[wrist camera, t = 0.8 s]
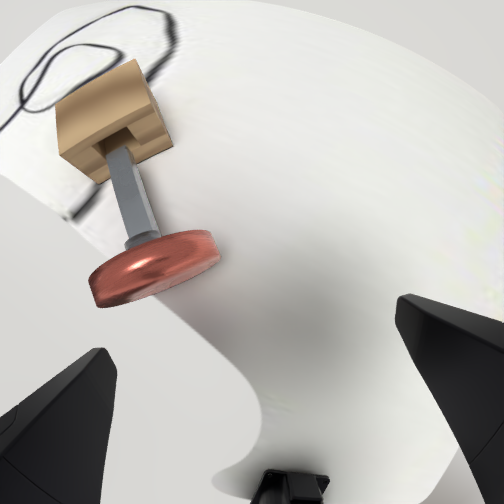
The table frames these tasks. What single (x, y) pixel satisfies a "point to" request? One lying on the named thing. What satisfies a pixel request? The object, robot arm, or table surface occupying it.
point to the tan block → (110, 121)
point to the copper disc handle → (146, 245)
